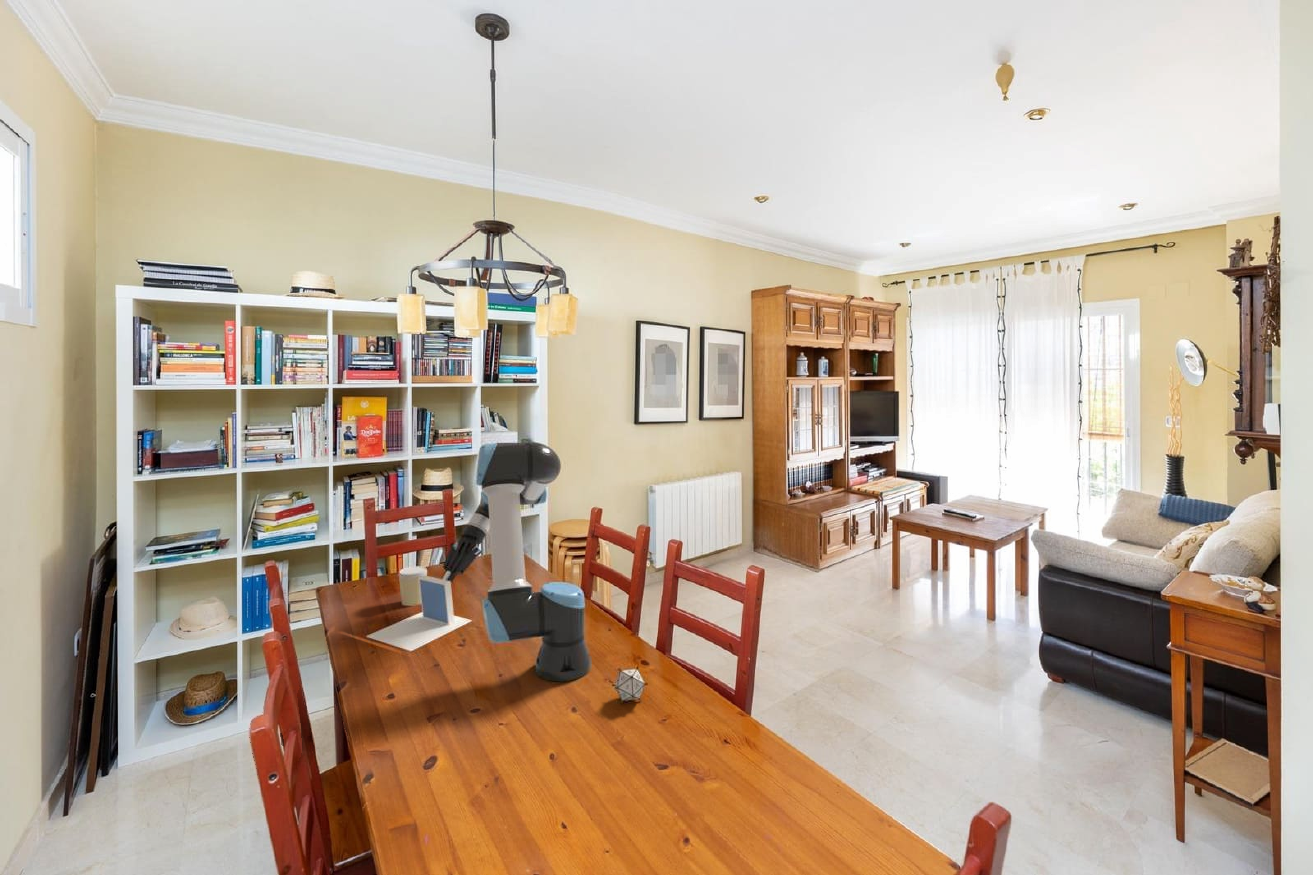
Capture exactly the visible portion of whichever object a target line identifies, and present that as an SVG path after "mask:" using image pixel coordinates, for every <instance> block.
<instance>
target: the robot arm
mask: <svg viewBox="0 0 1313 875" xmlns="http://www.w3.org/2000/svg"><path fill="white" fill-rule="evenodd" d="M476 465H477V467H476V480H475V481H476V482H475V483H476V485H477V486H479V487H481V492H480V502H479V504H478V505H477V508H476V510H475V511H474V513H473V514H472V516H471V517H470V519H469V521H468V523H467V525H466V526H465V527H464V529H463V531H462V533H461V537H460V539H458V541H457V542H455V543H454V542H451V543H450V544H449V545H450V546H449V550H448V553H447V555H446V558H445V560H444V562H443V565H442V568H443V569H444V570H445V571H444V573H443V575H442V577H441V578H440V579H443V580H447V581H451V584H452V583H453V581H454V580H455V578H456V577H457V576H459V574H460V575H463V574H464V572H466V571H467V569H468V567H470V565H471V564H472V563H473V561H474V560H475V559H476V558H477V557H479V555H481V554H482V551H481V549H480V548H479V546H480V545H481V544H482V543H483V542H484V540H485V538H486V536H487V535H486V534H488V533H489V537H490V538H489V539H490V556H491V557H490V559H491V572H492V575H491V576H492V584H491V586H490V587H489V589H488V590H487V592H486V593H487V597H485V598H483V599H482V601H481V605H482V614H483V618H484V625H485V628H486V632H487V636H488V639H489V641H491V643H493V644H499V643H500V644H501V643H511V642H517V641H521V640H522V641H523V640H528V639H534V638H541V645H540V646H539V650H538V653H537V657H536V659H535V672H536V674H537V676H538V677H540V678H542V679H544V680H546V681H550V682H558V683H559V682H570V681H575V680H576V679H580V678H581V677H584V676H585V675H586V674H588V673H589V672H590V670H591V668H592V660H591V659H592V658H591V657H592V656H591V654H590V653H589V648H588V646H587V642H586V640H585V639H586V638H585V607H586V603H585V594H584V591H583V590H582V588H581V587H579V586H578V585H575V584H573V583H570V582H564V581H563V582H561V581H553V582H547V583H545V584H543V585H542V586H541V588H540V591H537V592H533V586H532V584H531V583H529V582H528V581H527V580H526V567H525V555H524V540H523V526H522V513H521V510H522V509H521V506H526V505H527V506H528V505H529V506H530V505H539V504H541V505H542V504H545V503H546V502H547V498H548V495H547V494H548V491H547V487H548V485H549V484H551V483H553V482H554V481H555V480H556V479H557V478H558V476H559V474H560V473H561V466H562V465H561V460H560V457H559V456H558V454H557V453H556V451H554V449H552V448H551V447H550V446H547V445H546V444H544V443H540V442H536V441H529V442H527V441H526V442H495V443H485V444H483V445H481V446H480V448H479V451H478V457H477V464H476Z"/></svg>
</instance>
